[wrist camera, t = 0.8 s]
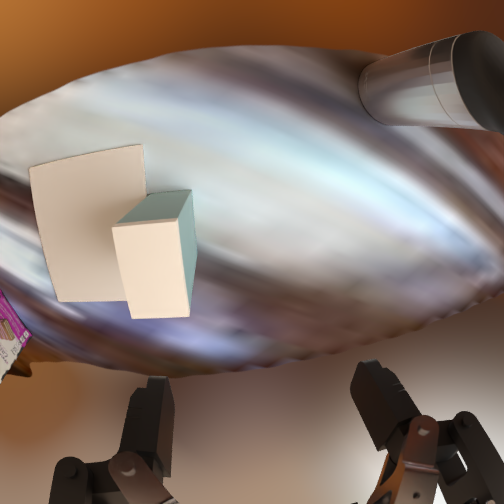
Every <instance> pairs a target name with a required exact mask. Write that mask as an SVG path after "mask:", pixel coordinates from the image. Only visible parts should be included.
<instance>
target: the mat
mask: <svg viewBox="0 0 504 504" xmlns="http://www.w3.org/2000/svg"><path fill="white" fill-rule="evenodd" d="M29 173H30V182H31V190H32V196H33V203H34V209H35V214H36V220H37V225H38V229H39V234H40V238H41V243H42V247H43V251H44V255H45V259H46V262H47V266H48V269H49V273H50V276H51V280H52V283H53V286H54V289H55V292H56V295H57V298H58V301H59V302H91V301H127V298H126V294H125V290H124V286H123V282H122V278H121V273H120V269H119V264H118V259H117V254H116V249H115V244H114V239H113V233H112V227H113V226H114V225H115V224H116V223H117V222H118V221H119V220H120V219H122V218H123V217H124V216H125V215H126V214H127V213H128V212H130V211H131V210H132V209H133V208H134V207H135V206H137V205H138V204H139V203H140V202H141V201H142V200H144V199H145V198H146V197H147V190H146V179H145V167H144V154H143V144H142V145H135V146H128V147H122V148H116V149H110V150H104V151H99V152H94V153H89V154H84V155H79V156H75V157H70V158H66V159H62V160H57V161H53V162H49V163H46V164H42V165H38V166H35V167H31V168H29Z"/></svg>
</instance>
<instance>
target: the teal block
mask: <svg viewBox="0 0 504 504" xmlns="http://www.w3.org/2000/svg"><path fill="white" fill-rule="evenodd" d="M112 233H113V239H114V244H115V249H116V254H117V259H118V264H119V269H120V273H121V278H122V282H123V286H124V290H125V294H126V298H127V302H128V306H129V310H130V313H131V317H132V319H141V318H170V317H189V313H190V304H191V296H192V288H193V281H194V273H195V266H196V259H197V244H196V234H195V222H194V211H193V198H192V190H182V191H171V192H160V193H151V194H150V195H148V196H147V197H146V198H145V199H144V200H142V201H141V202H140V203H139V204H138V205H137V206H135V207H134V208H133V209H132V210H131V211H130V212H128V213H127V214H126V215H125V216H124V217H123V218H122V219H120V220H119V221H118V222H117V223H116V224H115V225H114V226H113V227H112Z"/></svg>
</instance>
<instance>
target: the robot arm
mask: <svg viewBox="0 0 504 504" xmlns="http://www.w3.org/2000/svg"><path fill="white" fill-rule="evenodd" d="M358 88H359V95H360V98H361V101H362V103H363V105H364V107H365V109H366V110H367V111H368V113H369V114H370V115H371V116H372V117H373V118H374V119H376V120H377V121H379V122H380V123H383V124H385V125H391V126H436V127H453V128H466V129H478V130H487V131H494V132H499V133H501V134H502V135H504V42H503V41H502V40H501V39H500V38H498V37H497V36H495V35H494V34H492V33H489V32H485V31H473V32H469V33H465V34H461V35H457V36H453V37H449V38H446V39H442V40H439V41H435V42H432V43H428V44H426V45H422V46H419V47H416V48H413V49H410V50H407V51H404V52H401V53H398V54H395V55H392V56H389V57H387V58H384V59H381V60H379V61H376V62H374V63H371V64H369V65H368V66H366V67H365V68H364V69H363V71H362V73H361V75H360V78H359V86H358ZM350 393H351V396H352V399H353V401H354V403H355V405H356V407H357V409H358V411H359V413H360V415H361V417H362V419H363V421H364V424H365V426H366V428H367V430H368V432H369V434H370V436H371V438H372V440H373V442H374V445H375V447H376V449H377V451H381V450H384V449H387V451H388V454H387V456H386V459H385V462H384V465H383V468H382V471H381V474H380V477H379V480H378V483H377V485H376V488H375V490H374V492H373V493H372V495H371V496H370V498H369V500H368V502H367V504H433V501H434V497H435V493H436V488H437V483H438V485H439V487H440V489H441V492H442V494H443V496H444V499H445V501H446V503H447V504H504V463H503V461H502V459H501V457H500V455H499V454H498V452H497V450H496V449H495V447H494V445H493V444H492V442H491V440H490V438H489V437H488V435H487V434H486V432H485V431H484V429H483V427H482V426H481V424H480V422H479V421H478V420H477V418H476V417H475V416H474V415H473V414H472V413H470V412H467V411H461V412H459V413H458V414H456V416H455V417H454V419H453V420H445V421H436V420H435V419H434V418H432V417H430V416H428V415H422V414H421V413H420V411H419V410H418V408H417V407H416V405H415V404H414V402H413V401H412V399H411V397H410V396H409V394H408V393H407V391H405V388H404V387H403V385H402V384H401V383H400V381H399V379H398V378H397V376H396V375H395V374H394V373H393V372H392V371H390V370H389V369H388V368H382V366H381V365H380V363H379V362H378V360H377V359H371V360H366V361H361V362H359V363H358V365H357V368H356V371H355V374H354V376H353V379H352V382H351V386H350ZM174 416H175V404H174V398H173V394H172V390H171V386H170V383H169V379H168V377H167V376H149V378H148V382H147V388H137V389H136V390H135V392H134V393H133V394H132V396H131V397H130V402H129V406H128V410H127V414H126V419H125V423H124V428H123V433H122V438H121V443H120V447H119V450H118V452H117V454H115V455H114V456H113V457H112V458H111V459H109V460H107V461H103V462H94V463H84V462H82V461H81V460H80V459H78V458H75V457H65V458H63V459H61V460H60V461H59V462H58V463H57V465H56V467H55V471H54V476H53V481H52V486H51V492H50V498H49V504H179V503H178V502H177V501H176V500H175V499H174V497H173V496H172V495H171V494H170V493H169V492H168V490H167V489H166V488H165V487H164V486H163V477H171V460H172V443H173V429H174ZM457 451H459V452H460V454H461V456H462V457H463V460H464V461H465V464H466V465H467V471H466V470H465V467H464V465H463V463H462V461H461V459H460V458H459V456H458V454H457ZM352 504H358V503H357V502H356V503H352Z"/></svg>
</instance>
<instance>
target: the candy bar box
mask: <svg viewBox="0 0 504 504" xmlns="http://www.w3.org/2000/svg"><path fill="white" fill-rule="evenodd" d="M31 337H32V334H31V333H30V332H29V330H28V329H27V328H26V326H25V325H24V324H23V322H22V321H21V320H20V318H19V317H18V315H17V314H16V313H15V311H14V310H13V308H12V307H11V305H10V304H9V302H8V301H7V299H6V297H5V296H4V294H3V293H2V291H1V289H0V383H1V381H2V380H3V378H4V377H5V375H6V374H7V372H8V371H9V369H10V367H11V366H12V364H13V363H14V361H15V360H16V358H17V357H18V356H19V354H20V353H21V351H22V350H23V348H24V347H25V345H26V344H27V343H28V341H29V340H30V339H31Z"/></svg>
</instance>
